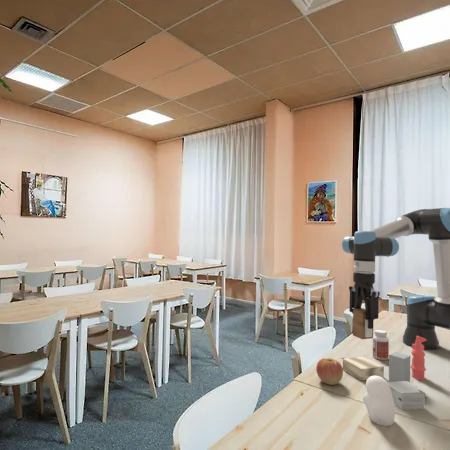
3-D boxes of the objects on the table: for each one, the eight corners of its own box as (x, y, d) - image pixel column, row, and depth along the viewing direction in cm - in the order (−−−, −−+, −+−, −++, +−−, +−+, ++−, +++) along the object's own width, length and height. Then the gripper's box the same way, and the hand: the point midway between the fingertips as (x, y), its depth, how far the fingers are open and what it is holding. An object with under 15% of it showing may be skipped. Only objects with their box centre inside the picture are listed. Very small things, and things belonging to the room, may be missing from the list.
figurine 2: (424, 375, 124) (425, 334, 124) (428, 381, 119) (428, 338, 120) (409, 373, 126) (409, 333, 126) (411, 378, 121) (412, 337, 121)
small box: (385, 397, 107) (385, 381, 107) (408, 396, 108) (408, 380, 108) (401, 410, 99) (401, 393, 99) (425, 409, 100) (425, 392, 100)
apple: (329, 390, 110) (329, 365, 111) (310, 379, 118) (311, 356, 118) (348, 385, 114) (348, 361, 115) (329, 375, 122) (329, 353, 122)
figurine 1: (360, 413, 97) (361, 371, 97) (385, 412, 97) (386, 370, 97) (373, 427, 89) (374, 382, 90) (400, 426, 90) (401, 381, 90)
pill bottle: (391, 358, 140) (391, 332, 141) (383, 361, 137) (383, 334, 137) (377, 354, 146) (378, 328, 146) (369, 356, 142) (369, 330, 143)
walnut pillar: (363, 334, 128) (363, 308, 128) (373, 338, 123) (373, 310, 124) (352, 335, 126) (353, 308, 127) (362, 339, 122) (362, 311, 122)
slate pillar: (395, 379, 120) (395, 351, 120) (410, 384, 116) (410, 355, 116) (388, 383, 117) (389, 354, 117) (403, 388, 113) (404, 358, 113)
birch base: (363, 366, 131) (364, 356, 131) (383, 377, 122) (383, 366, 122) (342, 369, 128) (342, 358, 128) (361, 380, 118) (361, 369, 118)
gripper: (340, 269, 133) (338, 328, 132) (374, 275, 116) (372, 343, 115) (355, 269, 135) (354, 327, 135) (391, 275, 118) (389, 341, 118)
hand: (362, 334), depth 125 cm, fingers closed on walnut pillar, 5 cm apart
